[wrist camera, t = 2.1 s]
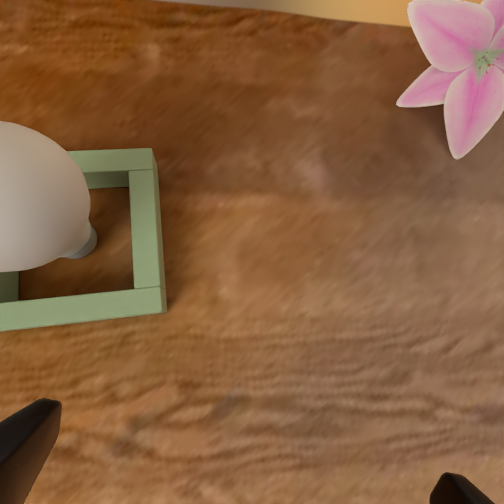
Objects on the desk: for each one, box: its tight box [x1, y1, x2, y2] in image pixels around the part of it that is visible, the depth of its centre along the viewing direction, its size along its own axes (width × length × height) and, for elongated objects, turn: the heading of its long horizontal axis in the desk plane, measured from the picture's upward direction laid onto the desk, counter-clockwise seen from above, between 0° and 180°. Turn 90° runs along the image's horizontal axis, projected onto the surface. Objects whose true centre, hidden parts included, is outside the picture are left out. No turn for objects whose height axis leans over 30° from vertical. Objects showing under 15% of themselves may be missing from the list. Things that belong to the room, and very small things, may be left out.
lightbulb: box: [0, 121, 97, 272], centre depth 16 cm, size 6×6×11 cm
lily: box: [396, 0, 504, 159], centre depth 24 cm, size 12×12×10 cm
